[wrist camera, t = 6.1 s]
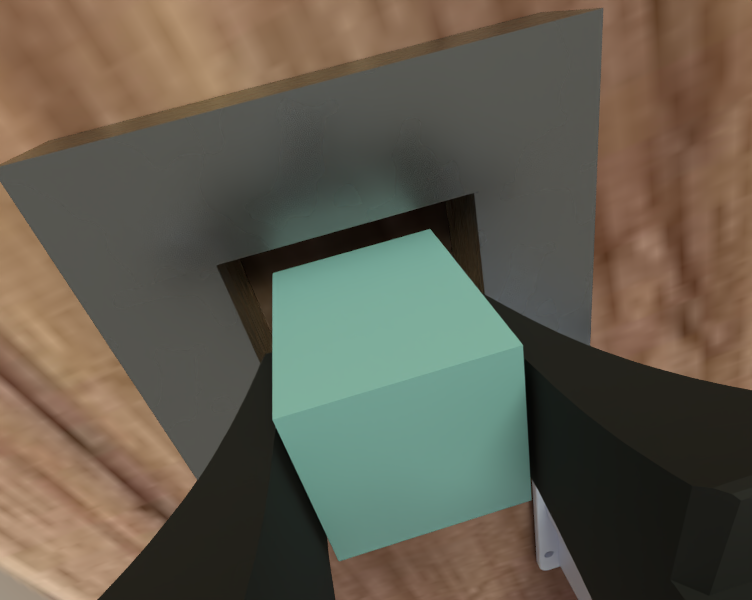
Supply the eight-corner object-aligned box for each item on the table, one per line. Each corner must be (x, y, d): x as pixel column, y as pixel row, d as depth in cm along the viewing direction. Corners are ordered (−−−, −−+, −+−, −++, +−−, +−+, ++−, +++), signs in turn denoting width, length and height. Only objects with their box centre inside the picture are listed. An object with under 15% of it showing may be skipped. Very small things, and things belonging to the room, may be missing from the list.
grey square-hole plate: (548, 377, 18) (587, 425, 15) (239, 472, 17) (234, 535, 15) (540, 12, 11) (603, 7, 9) (47, 141, 11) (-9, 168, 9)
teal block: (450, 353, 14) (531, 500, 9) (317, 392, 13) (338, 561, 9) (430, 229, 11) (522, 345, 7) (272, 273, 11) (272, 419, 7)
